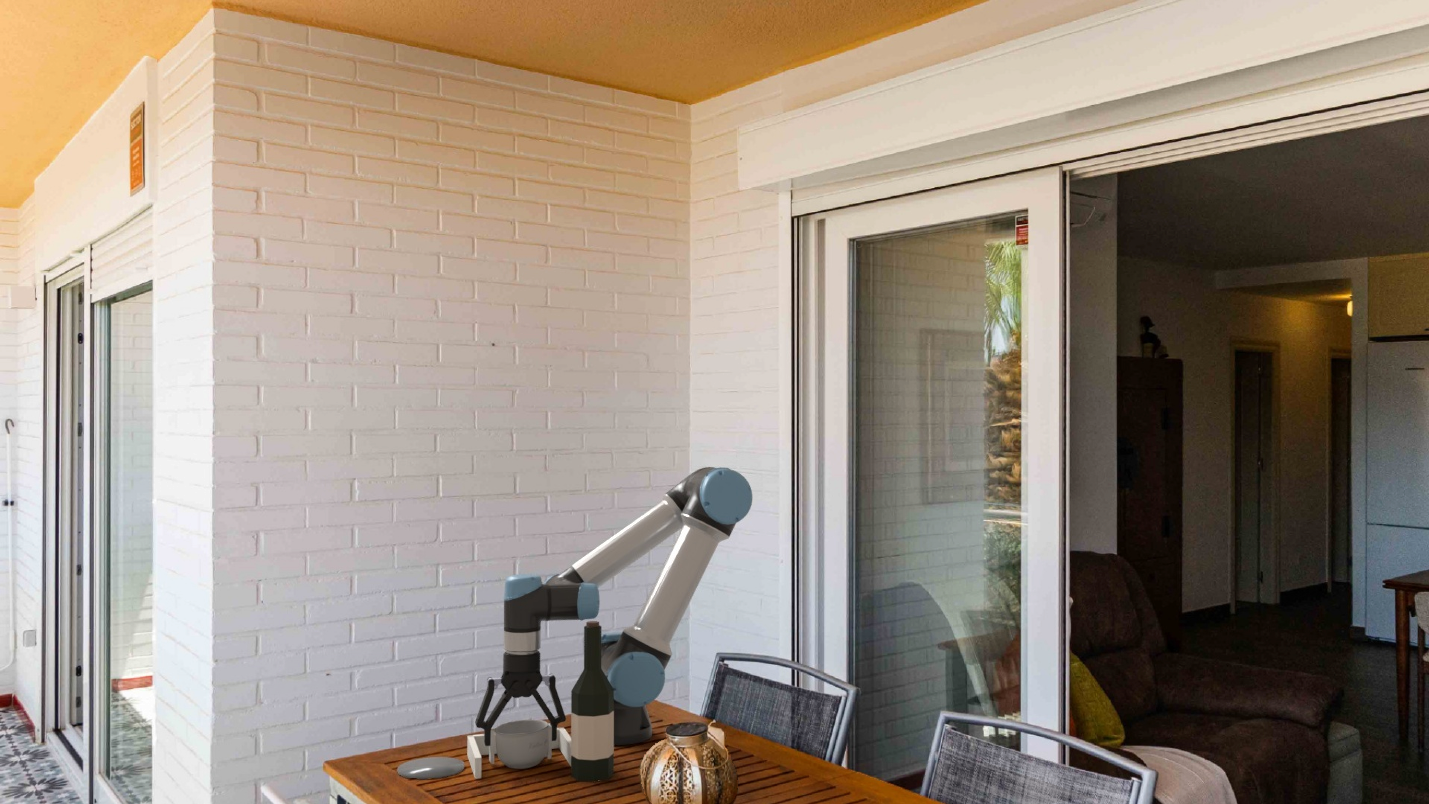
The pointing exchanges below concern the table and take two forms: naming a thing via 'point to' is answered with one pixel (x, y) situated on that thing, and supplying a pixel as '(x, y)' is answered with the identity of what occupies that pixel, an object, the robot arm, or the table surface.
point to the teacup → (522, 743)
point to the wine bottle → (592, 715)
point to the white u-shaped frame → (478, 748)
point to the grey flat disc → (430, 767)
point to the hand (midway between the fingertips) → (520, 759)
